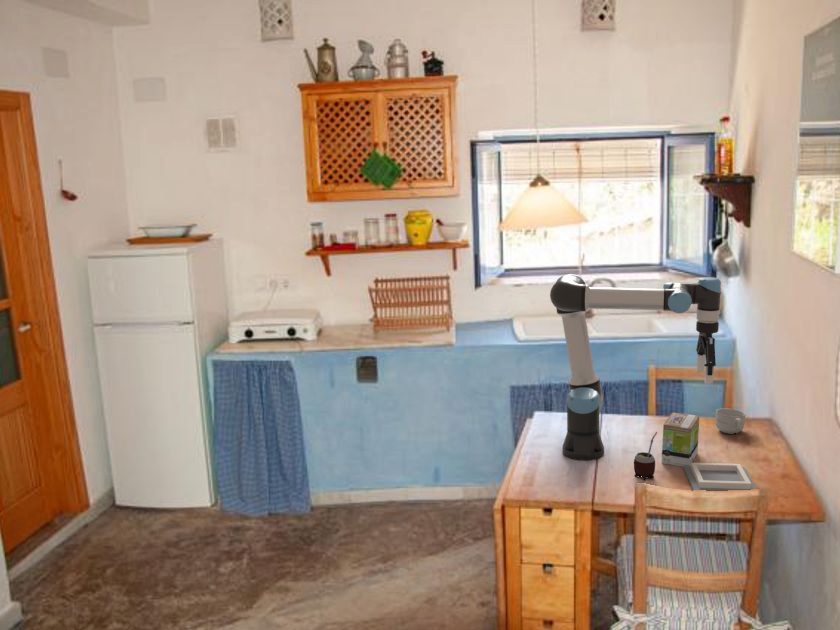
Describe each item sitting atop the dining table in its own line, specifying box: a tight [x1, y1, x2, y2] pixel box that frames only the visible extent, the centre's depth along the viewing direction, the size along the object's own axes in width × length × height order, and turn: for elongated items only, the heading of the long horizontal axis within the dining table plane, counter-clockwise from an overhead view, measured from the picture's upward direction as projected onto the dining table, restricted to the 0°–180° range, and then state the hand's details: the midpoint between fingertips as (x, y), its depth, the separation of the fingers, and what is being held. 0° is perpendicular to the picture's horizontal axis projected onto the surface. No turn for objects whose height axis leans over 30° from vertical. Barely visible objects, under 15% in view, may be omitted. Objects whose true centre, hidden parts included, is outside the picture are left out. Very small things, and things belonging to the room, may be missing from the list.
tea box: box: [661, 412, 700, 468], centre depth 281 cm, size 15×10×15 cm, turn 151°
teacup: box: [715, 407, 747, 435], centre depth 304 cm, size 14×11×8 cm
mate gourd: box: [633, 431, 658, 482], centre depth 267 cm, size 8×8×15 cm
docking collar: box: [683, 462, 758, 491], centre depth 262 cm, size 20×20×3 cm
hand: (704, 377), depth 285 cm, fingers open, 13 cm apart
